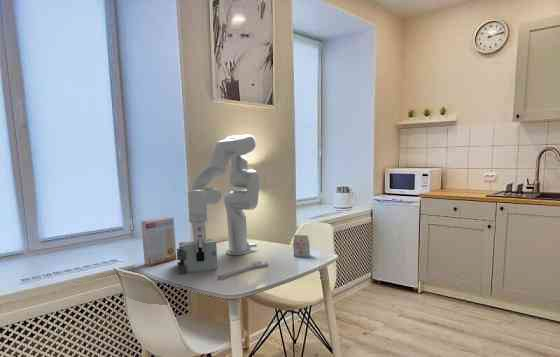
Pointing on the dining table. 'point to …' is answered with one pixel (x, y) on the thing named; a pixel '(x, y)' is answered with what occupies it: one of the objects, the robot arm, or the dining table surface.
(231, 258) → the dining table surface
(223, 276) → the adjustable wrench
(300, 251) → the small printed carton
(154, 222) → the cracker box
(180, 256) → the cabinet
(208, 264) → the grey flat block
